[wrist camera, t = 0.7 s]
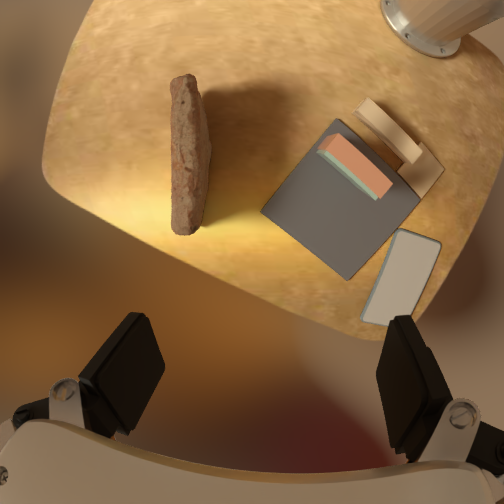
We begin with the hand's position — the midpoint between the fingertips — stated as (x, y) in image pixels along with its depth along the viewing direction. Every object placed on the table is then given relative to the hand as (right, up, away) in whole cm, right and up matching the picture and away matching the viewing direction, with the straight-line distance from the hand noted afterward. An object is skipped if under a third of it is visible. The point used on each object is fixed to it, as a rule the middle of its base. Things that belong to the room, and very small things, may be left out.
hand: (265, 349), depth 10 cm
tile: (+10, +14, +20) cm, 27 cm away
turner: (+18, +17, +19) cm, 31 cm away
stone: (-7, +15, +23) cm, 29 cm away
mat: (+11, +10, +23) cm, 27 cm away
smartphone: (+21, -1, +26) cm, 34 cm away
